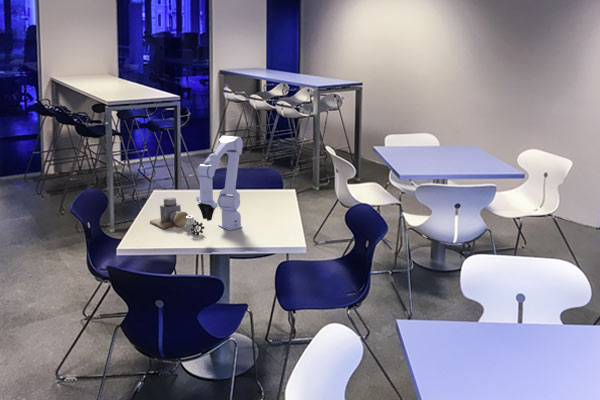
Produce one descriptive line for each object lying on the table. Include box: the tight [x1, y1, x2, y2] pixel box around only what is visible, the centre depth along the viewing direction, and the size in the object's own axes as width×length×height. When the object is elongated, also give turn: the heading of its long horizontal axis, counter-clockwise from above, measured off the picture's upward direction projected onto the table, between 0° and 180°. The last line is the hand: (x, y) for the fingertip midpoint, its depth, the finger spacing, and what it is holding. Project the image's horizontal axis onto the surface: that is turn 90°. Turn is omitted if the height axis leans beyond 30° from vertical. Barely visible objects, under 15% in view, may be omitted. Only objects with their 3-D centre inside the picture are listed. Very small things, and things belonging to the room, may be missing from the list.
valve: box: [185, 215, 205, 236], centre depth 297 cm, size 7×7×12 cm
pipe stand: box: [149, 197, 197, 230], centre depth 309 cm, size 16×18×12 cm
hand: (207, 219), depth 285 cm, fingers open, 3 cm apart
